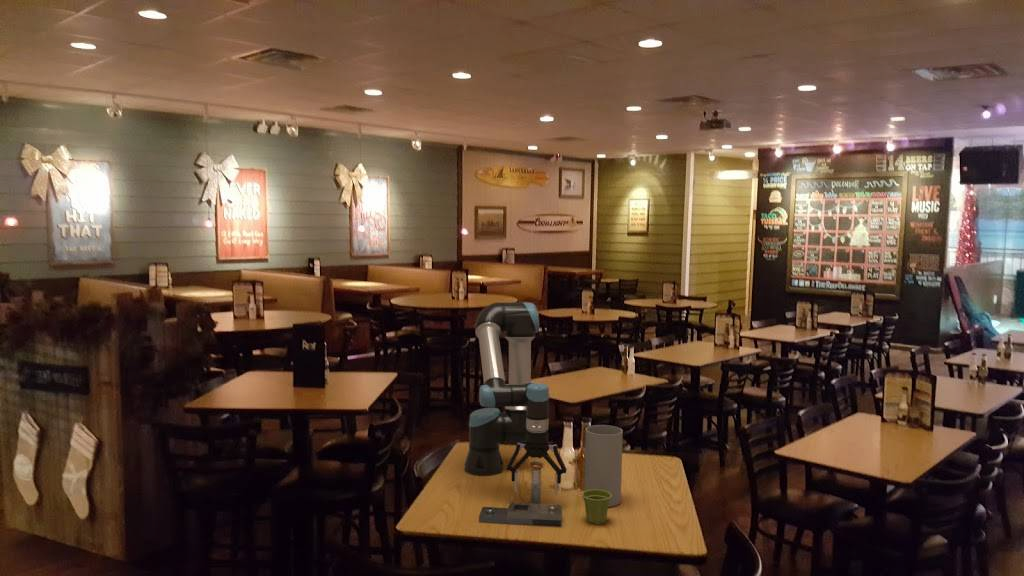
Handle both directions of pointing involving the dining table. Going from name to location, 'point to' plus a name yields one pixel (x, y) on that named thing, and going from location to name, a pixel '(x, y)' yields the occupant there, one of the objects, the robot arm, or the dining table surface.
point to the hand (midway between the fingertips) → (536, 491)
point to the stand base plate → (523, 514)
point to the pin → (536, 482)
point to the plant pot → (596, 505)
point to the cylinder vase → (604, 460)
